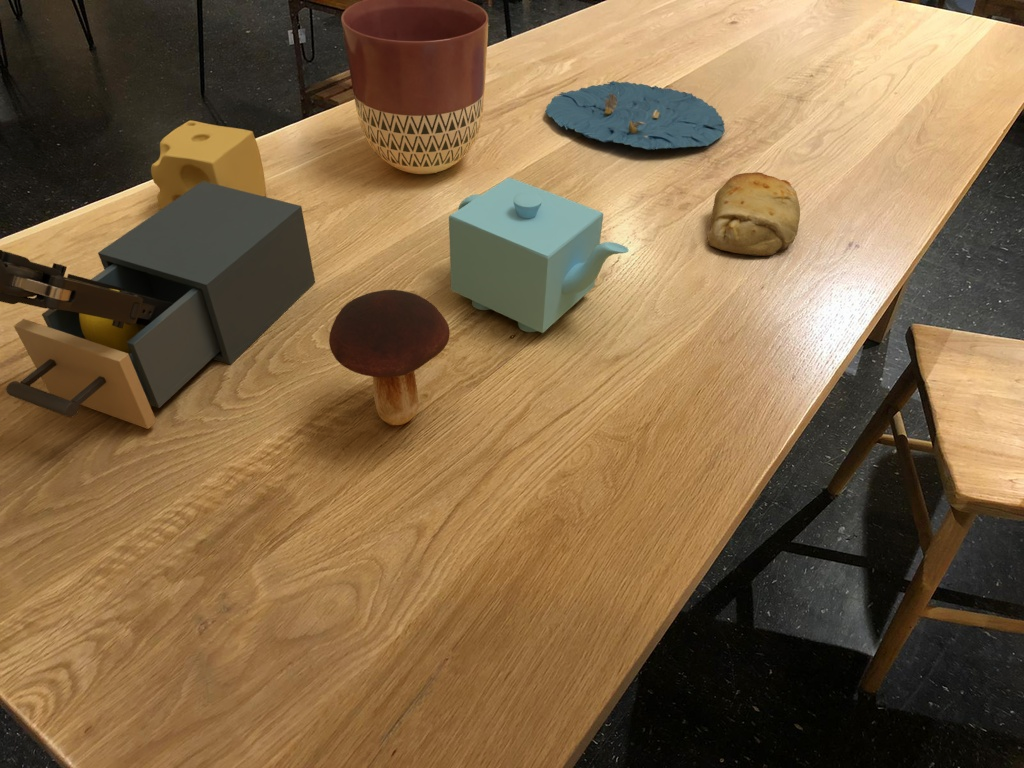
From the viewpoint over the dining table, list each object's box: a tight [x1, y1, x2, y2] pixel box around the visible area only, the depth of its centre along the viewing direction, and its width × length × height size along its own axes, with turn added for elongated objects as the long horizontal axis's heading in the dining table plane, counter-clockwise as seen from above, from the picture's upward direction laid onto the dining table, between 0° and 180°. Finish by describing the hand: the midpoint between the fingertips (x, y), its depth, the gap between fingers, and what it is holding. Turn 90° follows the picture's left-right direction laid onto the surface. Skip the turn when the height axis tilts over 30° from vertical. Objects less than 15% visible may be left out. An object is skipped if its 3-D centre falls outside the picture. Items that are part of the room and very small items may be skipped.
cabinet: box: [97, 181, 316, 366], centre depth 86 cm, size 17×14×11 cm
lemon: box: [79, 289, 146, 354], centre depth 74 cm, size 6×6×8 cm
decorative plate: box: [544, 80, 726, 151], centre depth 128 cm, size 30×30×5 cm
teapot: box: [448, 176, 629, 334], centre depth 87 cm, size 22×11×14 cm, turn 54°
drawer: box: [5, 263, 221, 430], centre depth 76 cm, size 20×12×9 cm, turn 158°
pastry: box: [706, 171, 801, 257], centre depth 102 cm, size 14×12×8 cm
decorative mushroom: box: [328, 289, 450, 426], centre depth 72 cm, size 11×11×15 cm
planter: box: [340, 0, 489, 175], centre depth 109 cm, size 20×20×21 cm
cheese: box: [150, 119, 267, 211], centre depth 102 cm, size 10×11×10 cm
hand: (142, 308), depth 77 cm, fingers closed on lemon, 5 cm apart
